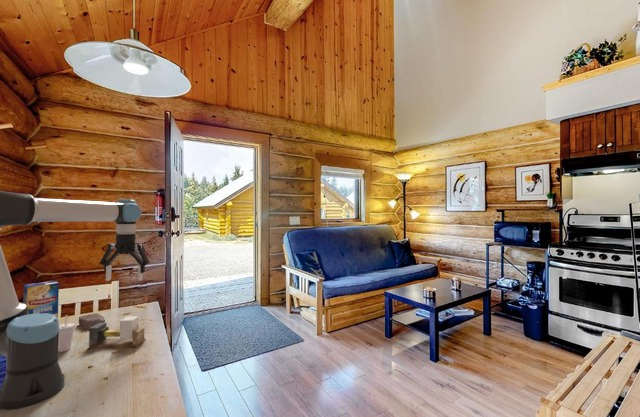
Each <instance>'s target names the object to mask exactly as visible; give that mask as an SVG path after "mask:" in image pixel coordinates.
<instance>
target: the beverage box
mask: <svg viewBox="0 0 640 417" xmlns="http://www.w3.org/2000/svg"><path fill="white" fill-rule="evenodd" d="M59 286H60V282H58V281H56V280H50V281H43V282H36V283H29V284H24V285H23V299H22V301H23V302H22V303H24V304H26V305H27V308H28V311H29V314H35V313H40V314H43V313H48V314H52V315H55V316H56V317H57V318H58V319H59V297H60V296H59V291H60V289H59V288H60V287H59Z"/></svg>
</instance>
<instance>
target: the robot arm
mask: <svg viewBox="0 0 640 417" xmlns="http://www.w3.org/2000/svg"><path fill="white" fill-rule="evenodd" d="M141 215H142V208H141V207H140V205H139V204H137V201H136V200H135V199H122V198H120V199H119V198H118V200H116V202H109V201H96V200H95V201H94V200H93V201H92V200H82V199H81V200H79V199H64V198H62V199H59V198H47V197H46V198H44V197H34V196H33V195H32V194H29V193H18V192H10V191H3V190H0V231H1V230H2V229H3V227H11V226H28V225H30V224H31V223H33V222H34V223H39V222H40V223H41V222H45V223H47V222H50V223H51V222H54V223H55V222H56V223H57V222H58V223H59V222H65V223H66V222H68V223H69V222H115V223H116V226H115V233H116V234H115V242H116V243H115V244H114V243H109V244H108V245H107V249H106V250H105V253H104V254H103V256H102V257H101V259H100V261H99V265H101V266H104V267H103V268H104V269H103V273H104V274H105V281H106V282H109V281H111V280H112V268H113V267H112V265H111V264H112V263H113V262H114V261H115V260H116V258H117V257H118V256H119V255H123V254H124V255H130V256H131V257H133V259H134V260H135V261H136V262H137V264H139V265H138V268H137V269H138V271H137V281H138V282H139V281H140V282H141V281H142V280H144V279H143V278H144V273H145V272H146V266H147V265H149V264H150V263H151V262H150V260H149V257H148V256H147V254H146V251H145V249H144V245H143V243H139V244H136V232H137V221H138V220H139V219H140V218H141V217H142V216H141ZM2 248H3V247H2V245H1V244H0V356H3V357H5V358H6V360H5V362H6V363H5V366H6V367H5V377H4V378H3V382H2V383H1V386H0V409H2V410H12V409H18V408H25V407H27V406H30V405H35V404H37V403H39V402H43V401H44V400H47V399H49V398H50V397H53V396H54V395H56V394H58V392H60V391H61V390H62V389H63V388H64V386H65V383H66V382H65V380H66V379H65V378H66V377H65V375H64V373H63V372H62V369H61V367H60V363H59V351H58V343H59V328H60V327H59V325H60V321H59V317H58V318H57V317H56V316H55V315H52V314H48V313H43V314H40V313H35V314H29V311H28V308H27V305H26V304H24V303H23V302H19V299H18V296H17V293H16V290H15V287H14V283H13V280H12V276H11V273H10V270H9V267H8V265H7V264H8V263H7V260H6V258H5V255H4V252H3V249H2ZM114 249H116V250H115V251H114ZM135 249H137V250H135ZM113 251H114V252H113ZM112 252H113V254H112ZM111 254H112V255H111Z"/></svg>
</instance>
